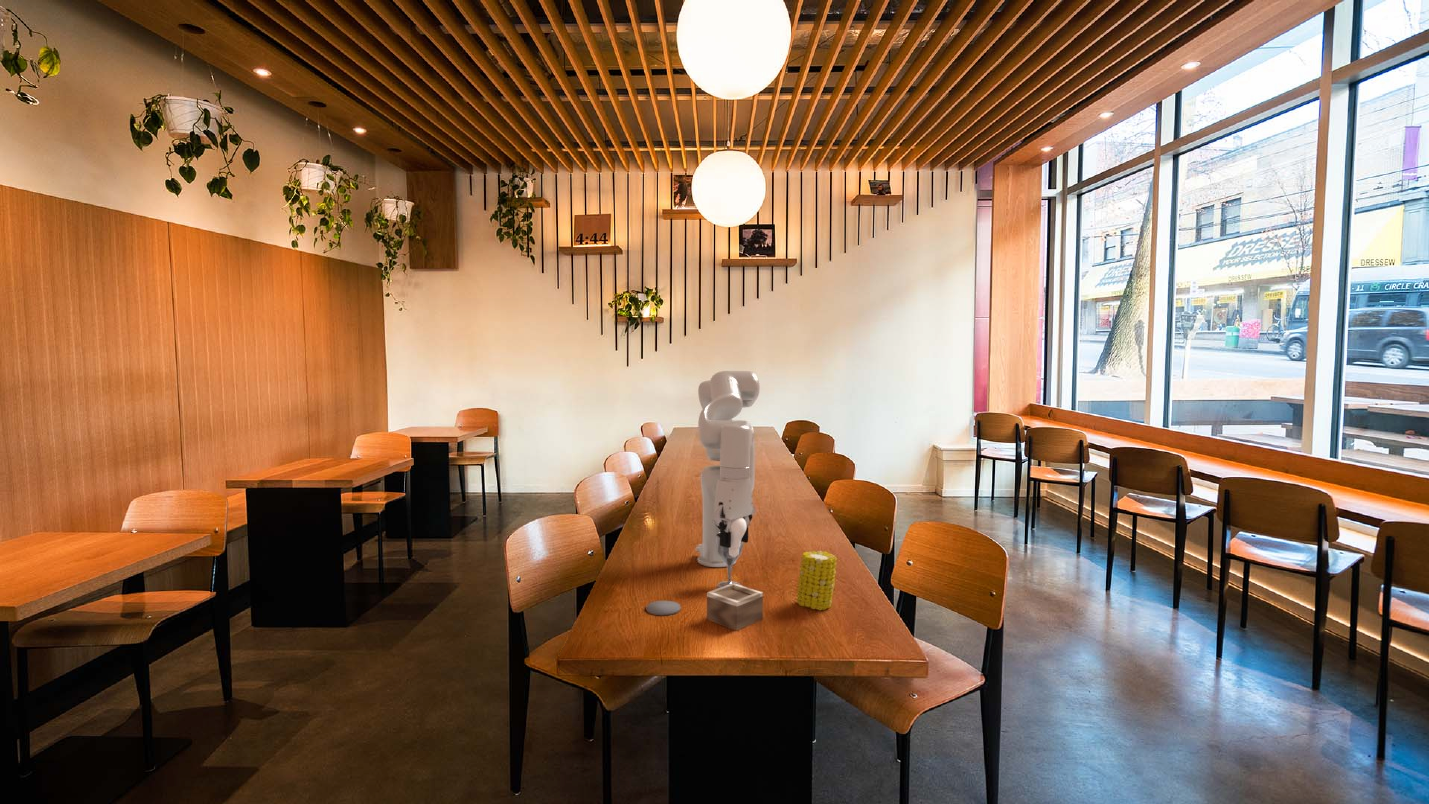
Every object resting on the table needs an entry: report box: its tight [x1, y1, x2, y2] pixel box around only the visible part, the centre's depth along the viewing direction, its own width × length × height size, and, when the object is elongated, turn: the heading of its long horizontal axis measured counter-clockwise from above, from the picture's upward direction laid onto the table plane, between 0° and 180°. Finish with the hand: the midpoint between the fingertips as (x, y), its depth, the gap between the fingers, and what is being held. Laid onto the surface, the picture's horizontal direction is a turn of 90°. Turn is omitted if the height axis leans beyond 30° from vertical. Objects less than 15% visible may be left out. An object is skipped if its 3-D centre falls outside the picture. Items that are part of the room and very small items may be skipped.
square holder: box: [706, 583, 764, 632], centre depth 168 cm, size 10×10×7 cm
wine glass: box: [716, 532, 744, 588], centre depth 193 cm, size 8×8×15 cm
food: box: [796, 550, 838, 611], centre depth 179 cm, size 15×12×10 cm
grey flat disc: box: [645, 600, 681, 617], centre depth 175 cm, size 9×9×1 cm
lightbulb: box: [724, 517, 747, 557], centre depth 167 cm, size 6×6×11 cm
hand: (734, 543), depth 167 cm, fingers closed on lightbulb, 5 cm apart
